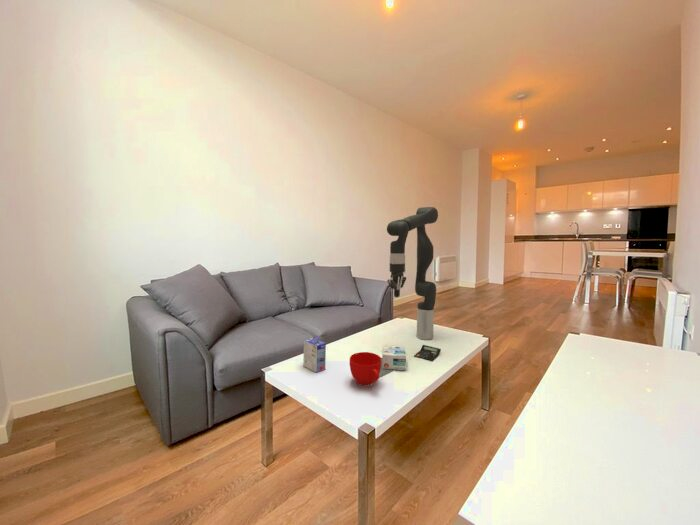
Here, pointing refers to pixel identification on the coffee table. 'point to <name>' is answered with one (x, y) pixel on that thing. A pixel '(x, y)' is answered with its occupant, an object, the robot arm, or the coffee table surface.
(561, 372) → the coffee table surface
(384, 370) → the mat
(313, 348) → the ink cartridge box
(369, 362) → the ceramic cup
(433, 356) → the calculator
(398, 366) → the light bulb box
